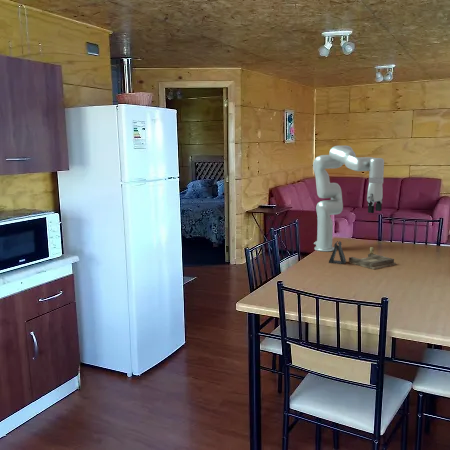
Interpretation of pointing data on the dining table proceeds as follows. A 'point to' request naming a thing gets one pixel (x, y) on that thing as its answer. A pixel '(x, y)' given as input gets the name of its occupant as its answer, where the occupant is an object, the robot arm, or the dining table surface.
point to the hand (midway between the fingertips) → (374, 211)
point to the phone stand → (339, 254)
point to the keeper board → (373, 261)
